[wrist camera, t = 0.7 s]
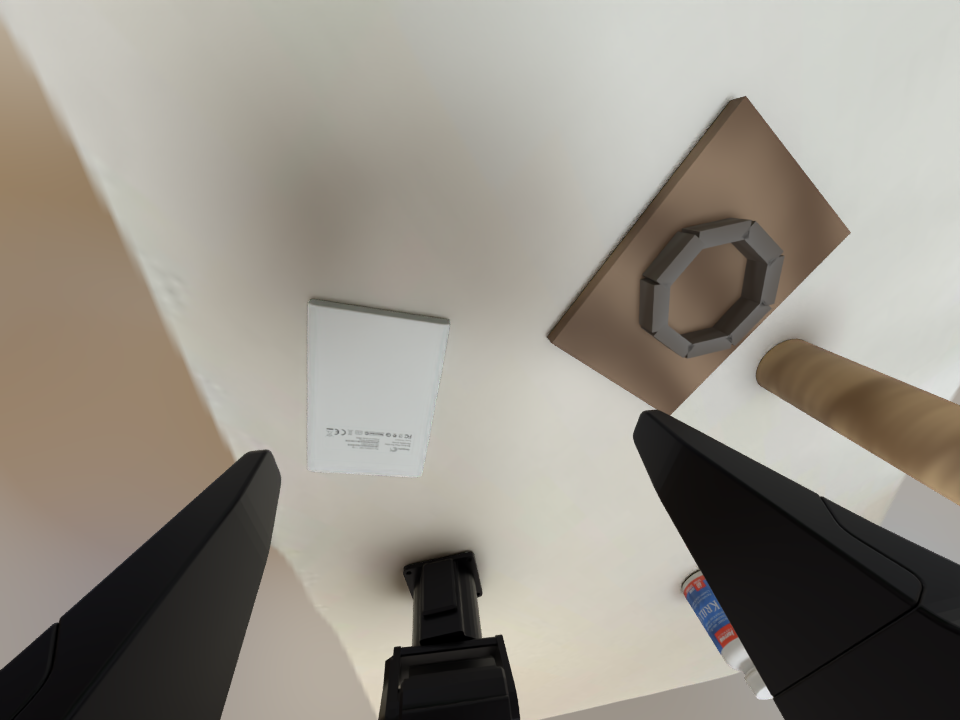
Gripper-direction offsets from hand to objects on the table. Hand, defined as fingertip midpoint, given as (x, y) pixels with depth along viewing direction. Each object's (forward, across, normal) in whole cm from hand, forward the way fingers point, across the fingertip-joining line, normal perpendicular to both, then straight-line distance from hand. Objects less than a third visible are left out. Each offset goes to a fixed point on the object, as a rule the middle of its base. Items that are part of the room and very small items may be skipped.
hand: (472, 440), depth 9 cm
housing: (+13, -17, +2) cm, 21 cm away
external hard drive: (+14, +4, +9) cm, 17 cm away
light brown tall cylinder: (+12, -27, +8) cm, 31 cm away
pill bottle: (+9, -29, +36) cm, 47 cm away
